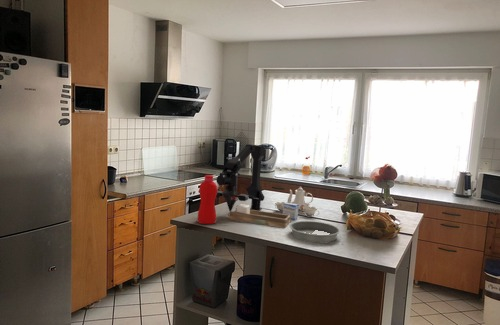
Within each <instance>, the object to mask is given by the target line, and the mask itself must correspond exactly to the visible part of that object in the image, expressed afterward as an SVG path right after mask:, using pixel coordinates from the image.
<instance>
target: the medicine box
mask: <svg viewBox="0 0 500 325" xmlns="http://www.w3.org/2000/svg"><path fill="white" fill-rule="evenodd" d="M298 208H299V205H298V204H293V203H287V202H285V203H284V205H283V213H282V214H285V215H291V221H296V220H298V218H299V214H298Z"/></svg>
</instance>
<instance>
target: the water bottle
mask: <svg viewBox="0 0 500 325" xmlns="http://www.w3.org/2000/svg"><path fill="white" fill-rule="evenodd" d="M198 190H199V191H198V192H199V197H200V204H199V208H198V211H197V212H198V213H197V222H198V223H199V224H202V225H213V224H215V223H216V221H217V213H216V212H217V211H216V207H215V206H216V205H215V204H216V199H217V197H216V195H217V191H218V184H217V182H216V183H215V182H214V175H210V174H206V175H204V181H202V182H201V183H200V185H199V189H198Z"/></svg>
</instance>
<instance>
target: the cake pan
mask: <svg viewBox="0 0 500 325" xmlns="http://www.w3.org/2000/svg"><path fill="white" fill-rule="evenodd" d="M289 228H290V230H291V232H292V236H293V237H294V236H295V237H294V238H296V239H298V238H299V239H298V240H301V241H304V240H305V241H306V242H309V243H316V242H327V243H332V242H334V240H335V239H337V237H338V234H340V232H341V230H340V228H339V227H337V226H335V225H333V224H329V223H325V222H321V221H313V220H312V221H311V220H303V221H295V222H292V223H289ZM315 230H318V231H324V232H327V233H330V234H329V235H317V234H312V233H313V232H314V231H315ZM305 232H306V233H305ZM309 233H310V234H309ZM331 241H332V242H331ZM335 241H336V240H335Z"/></svg>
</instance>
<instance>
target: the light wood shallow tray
mask: <svg viewBox="0 0 500 325" xmlns="http://www.w3.org/2000/svg"><path fill="white" fill-rule="evenodd" d="M228 213H229V214H228V217H227V218H228V220H230V221H236V222H237V221H238V222H243V223H244V222H245V223H251V224H257V225H262V226H271V227H277V228H282V229H284V228H285V229H286V228H287V227H288V226H289V225H290V224H291V222H292V220H291V215H285V214H283V213H279V212H278V213H276V212H269V211H262V210H259V211H257V210H250V214H246V213H239V212H236V210H235V211H233V210H231V211H229V212H228Z"/></svg>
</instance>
